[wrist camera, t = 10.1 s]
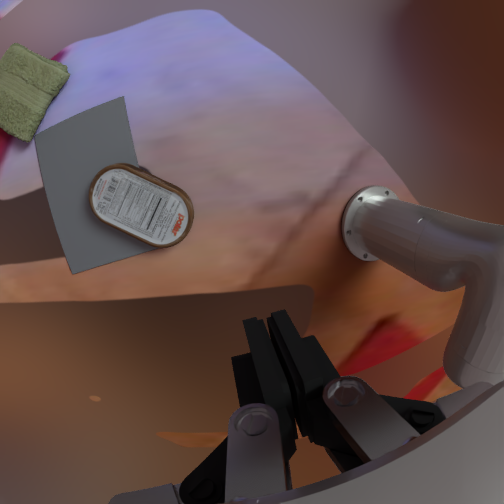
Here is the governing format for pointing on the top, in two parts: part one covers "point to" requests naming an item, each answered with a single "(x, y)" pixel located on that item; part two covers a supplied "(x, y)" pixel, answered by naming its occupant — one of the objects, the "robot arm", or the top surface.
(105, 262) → the mat
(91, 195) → the tin
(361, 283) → the top surface
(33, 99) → the washcloth
